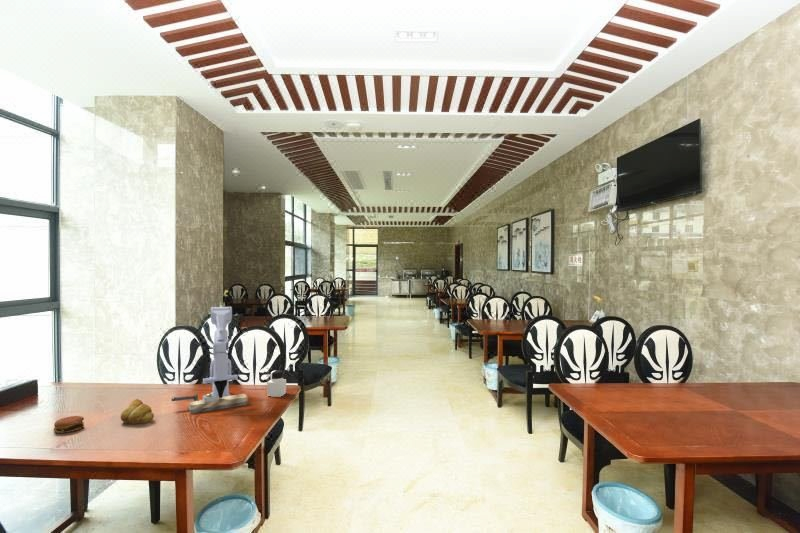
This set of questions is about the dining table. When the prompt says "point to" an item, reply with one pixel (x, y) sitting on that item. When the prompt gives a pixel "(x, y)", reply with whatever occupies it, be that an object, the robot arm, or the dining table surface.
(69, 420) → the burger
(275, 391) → the grey padlock
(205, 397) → the lever cap
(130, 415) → the bread roll
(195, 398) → the lever
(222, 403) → the plane body
